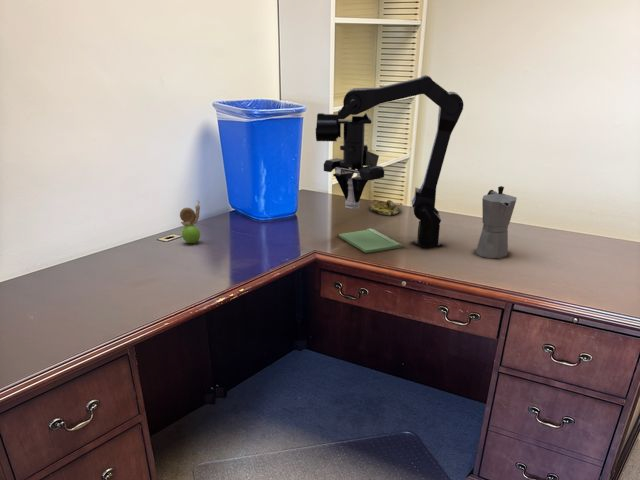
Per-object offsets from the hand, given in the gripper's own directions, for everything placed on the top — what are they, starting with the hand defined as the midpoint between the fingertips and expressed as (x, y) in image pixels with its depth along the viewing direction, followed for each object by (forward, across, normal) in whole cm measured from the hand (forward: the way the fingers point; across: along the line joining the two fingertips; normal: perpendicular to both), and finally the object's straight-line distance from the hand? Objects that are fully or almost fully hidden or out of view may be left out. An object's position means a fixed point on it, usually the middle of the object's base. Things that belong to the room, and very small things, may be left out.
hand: (352, 201), depth 171 cm
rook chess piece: (+2, 0, 0) cm, 2 cm away
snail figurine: (+13, +34, +33) cm, 49 cm away
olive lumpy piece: (+12, +18, -35) cm, 42 cm away
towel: (+12, -3, -5) cm, 13 cm away
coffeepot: (+12, -34, -21) cm, 42 cm away
